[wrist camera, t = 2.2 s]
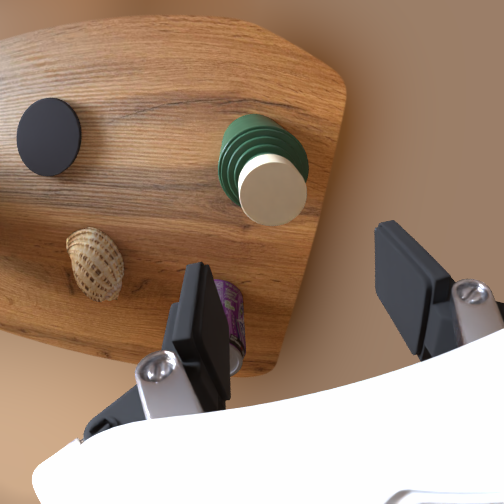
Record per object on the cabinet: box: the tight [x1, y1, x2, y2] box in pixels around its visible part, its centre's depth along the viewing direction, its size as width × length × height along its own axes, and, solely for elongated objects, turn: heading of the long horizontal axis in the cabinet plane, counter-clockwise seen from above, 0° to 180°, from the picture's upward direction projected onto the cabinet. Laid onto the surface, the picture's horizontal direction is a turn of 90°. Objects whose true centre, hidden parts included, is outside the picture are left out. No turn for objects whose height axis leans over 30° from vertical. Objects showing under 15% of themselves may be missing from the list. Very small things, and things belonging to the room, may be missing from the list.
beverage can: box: [214, 279, 246, 377], centre depth 39 cm, size 7×7×12 cm
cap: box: [238, 154, 307, 226], centre depth 20 cm, size 4×4×2 cm
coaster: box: [17, 98, 81, 176], centre depth 32 cm, size 10×10×1 cm
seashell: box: [66, 227, 124, 302], centre depth 39 cm, size 8×6×10 cm
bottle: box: [218, 114, 309, 207], centre depth 27 cm, size 7×7×18 cm
